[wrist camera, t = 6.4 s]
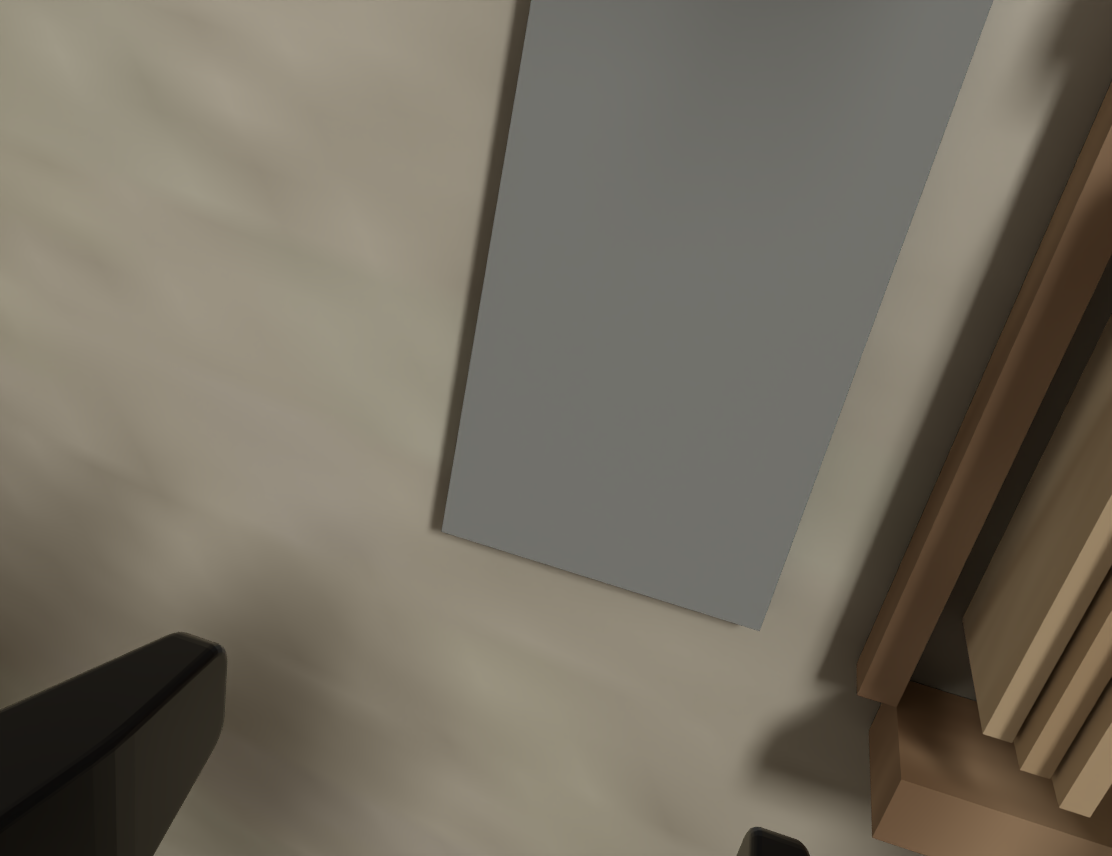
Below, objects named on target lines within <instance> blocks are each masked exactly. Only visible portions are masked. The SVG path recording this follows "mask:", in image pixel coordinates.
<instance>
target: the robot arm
mask: <svg viewBox="0 0 1112 856" xmlns="http://www.w3.org/2000/svg"><path fill="white" fill-rule="evenodd" d="M226 676H227V654H226V651H225V649H224V648H223V647H222V646H221V645H219V644H218V643H215V642H212V641H209V640H206V639H203V638H200V637H197V636H194V635H191V634H188V633H184V632H177V633H172V634H169V635H167V636H164V637H162V638H160V639H158V640H155V641H153V642H151V643H149V644H146V645H144V646H142V647H140V648H138V649H135V650H133V651H131V652H129V653H126V654H124V655H122V656H120V657H117V658H115V659H113V660H111V661H109V662H106V663H104V664H102V665H100V666H97V667H95V668H93V669H91V670H88V671H86V672H84V673H82V674H79V675H77V676H75V677H73V678H71V679H68V680H66V681H64V682H62V683H59V684H57V685H55V686H53V687H50V688H48V689H46V690H44V691H41V692H39V693H37V694H35V695H33V696H30V697H28V698H26V699H24V700H21V701H19V702H17V703H15V704H12V705H10V706H8V707H6V708H4V709H1V710H0V856H153V855H154V853H155V852H156V850H157V848H158V846H159V845H160V843H161V841H162V839H163V838H164V836H165V834H166V832H167V830H168V829H169V827H170V825H171V823H172V822H173V820H174V818H175V816H176V815H177V813H178V811H179V809H180V808H181V806H182V804H183V802H184V800H185V799H186V797H187V795H188V793H189V792H190V790H191V788H192V786H193V785H194V783H195V781H196V779H197V778H198V776H199V774H200V772H201V770H202V769H203V767H204V765H205V763H206V762H207V760H208V758H209V756H210V755H211V753H212V751H213V749H214V747H215V745H216V743H217V741H218V739H219V736H220V733H221V730H222V727H223V722H224V714H225V695H226ZM737 856H810V855H809V852H808V850H807V848H806V847H805V846H804V845H803V844H802V843H801V842H800V841H799V840H797V839H794V838H791V837H788V836H785V835H782V834H779V833H776V832H773V831H770V830H767V829H764V828H761V827H754V828H751V829H750V830H749V831H748V832H747V833H746V835H745V837H744V839H743V842H742V844H741V846H740V849H739V851H738V853H737Z"/></svg>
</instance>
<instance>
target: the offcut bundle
mask: <svg viewBox="0 0 1112 856" xmlns="http://www.w3.org/2000/svg"><path fill="white" fill-rule="evenodd" d="M962 621H963V627H964V632H965V638H966V643H967V649H968V655H969V660H970V666H971V671H972V677H973V683H974V688H975V694H976V699H977V705H978V710H979V716H980V722H981V727H982V733H983V734H985V735H988V736H991V737H994V738H997V739H1001V740H1004V741H1007V742H1010V743H1012V742H1013V740H1014V745H1015V750H1016V754H1017V759H1018V764H1019V768H1020V770H1022V771H1025V772H1028V773H1031V774H1035V775H1038V776H1041V777H1044V778H1047V779H1050V778H1052V782H1053V786H1054V790H1055V794H1056V798H1057V802H1058V806H1059V808H1061V809H1065V810H1068V811H1071V812H1074V813H1077V814H1080V815H1083V816H1086V817H1091V815H1092V814H1093V812H1094V811H1095V809H1096V807H1097V806H1098V804H1099V803H1100V801H1101V800H1102V798H1103V797H1104V795H1105V793H1106V792H1107V790H1108V789H1109V787H1110V786H1111V784H1112V314H1111V316H1110V318H1109V320H1108V322H1107V324H1106V326H1105V328H1104V330H1103V332H1102V334H1101V336H1100V338H1099V341H1098V343H1097V345H1096V347H1095V349H1094V351H1093V353H1092V355H1091V357H1090V359H1089V361H1088V363H1087V365H1086V367H1085V369H1084V371H1083V373H1082V375H1081V377H1080V379H1079V381H1078V383H1077V386H1076V388H1075V390H1074V392H1073V394H1072V396H1071V398H1070V400H1069V402H1068V404H1067V406H1066V408H1065V410H1064V412H1063V414H1062V416H1061V418H1060V420H1059V422H1058V424H1057V426H1056V428H1055V431H1054V433H1053V435H1052V437H1051V439H1050V441H1049V443H1048V445H1047V447H1046V449H1045V451H1044V453H1043V455H1042V457H1041V459H1040V461H1039V463H1038V465H1037V467H1036V469H1035V471H1034V473H1033V475H1032V478H1031V480H1030V482H1029V484H1028V486H1027V488H1026V490H1025V492H1024V494H1023V496H1022V498H1021V500H1020V502H1019V504H1018V506H1017V508H1016V510H1015V512H1014V514H1013V516H1012V518H1011V520H1010V523H1009V525H1008V527H1007V529H1006V531H1005V533H1004V535H1003V537H1002V539H1001V541H1000V543H999V545H998V547H997V549H996V551H995V553H994V555H993V557H992V559H991V561H990V563H989V565H988V568H987V570H986V572H985V574H984V576H983V578H982V580H981V582H980V584H979V586H978V588H977V590H976V592H975V594H974V596H973V598H972V600H971V602H970V604H969V606H968V608H967V610H966V612H965V615H964V617H963V619H962Z"/></svg>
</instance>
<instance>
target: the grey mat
mask: <svg viewBox="0 0 1112 856" xmlns="http://www.w3.org/2000/svg"><path fill="white" fill-rule="evenodd" d="M992 2H993V0H531V5H530V11H529V17H528V22H527V28H526V34H525V40H524V46H523V52H522V58H521V64H520V70H519V76H518V82H517V88H516V94H515V99H514V105H513V111H512V117H511V123H510V129H509V135H508V141H507V147H506V153H505V159H504V165H503V171H502V176H501V182H500V188H499V194H498V200H497V206H496V212H495V218H494V224H493V230H492V236H491V242H490V247H489V253H488V259H487V265H486V271H485V277H484V283H483V289H482V295H481V301H480V307H479V313H478V319H477V324H476V330H475V336H474V342H473V348H472V354H471V360H470V366H469V372H468V378H467V384H466V390H465V396H464V401H463V407H462V413H461V419H460V425H459V431H458V437H457V443H456V449H455V455H454V461H453V467H452V473H451V478H450V484H449V490H448V496H447V502H446V508H445V514H444V520H443V526H442V532H444V533H447V534H450V535H454V536H457V537H460V538H463V539H466V540H470V541H473V542H476V543H479V544H482V545H486V546H489V547H492V548H495V549H498V550H502V551H505V552H508V553H511V554H514V555H518V556H521V557H524V558H527V559H530V560H534V561H537V562H540V563H543V564H546V565H550V566H553V567H556V568H559V569H562V570H566V571H569V572H572V573H575V574H578V575H582V576H585V577H588V578H591V579H594V580H598V581H601V582H604V583H607V584H610V585H614V586H617V587H620V588H623V589H626V590H629V591H633V592H636V593H639V594H642V595H645V596H649V597H652V598H655V599H658V600H661V601H665V602H668V603H671V604H674V605H677V606H681V607H684V608H687V609H690V610H693V611H697V612H700V613H703V614H706V615H709V616H713V617H716V618H719V619H722V620H725V621H729V622H732V623H735V624H738V625H741V626H745V627H748V628H751V629H754V630H757V631H760V629H761V626H762V623H763V620H764V618H765V615H766V612H767V610H768V607H769V604H770V602H771V599H772V596H773V593H774V591H775V588H776V585H777V583H778V580H779V577H780V575H781V572H782V569H783V566H784V564H785V561H786V558H787V556H788V553H789V550H790V548H791V545H792V542H793V539H794V537H795V534H796V531H797V529H798V526H799V523H800V521H801V518H802V515H803V512H804V510H805V507H806V504H807V502H808V499H809V496H810V494H811V491H812V488H813V486H814V483H815V480H816V477H817V475H818V472H819V469H820V467H821V464H822V461H823V459H824V456H825V453H826V450H827V448H828V445H829V442H830V440H831V437H832V434H833V432H834V429H835V426H836V423H837V421H838V418H839V415H840V413H841V410H842V407H843V405H844V402H845V399H846V396H847V394H848V391H849V388H850V386H851V383H852V380H853V378H854V375H855V372H856V369H857V367H858V364H859V361H860V359H861V356H862V353H863V351H864V348H865V345H866V342H867V340H868V337H869V334H870V332H871V329H872V326H873V324H874V321H875V318H876V315H877V313H878V310H879V307H880V305H881V302H882V299H883V297H884V294H885V291H886V288H887V286H888V283H889V280H890V278H891V275H892V272H893V270H894V267H895V264H896V261H897V259H898V256H899V253H900V251H901V248H902V245H903V243H904V240H905V237H906V234H907V232H908V229H909V226H910V224H911V221H912V218H913V216H914V213H915V210H916V208H917V205H918V202H919V199H920V197H921V194H922V191H923V189H924V186H925V183H926V181H927V178H928V175H929V172H930V170H931V167H932V164H933V162H934V159H935V156H936V154H937V151H938V148H939V145H940V143H941V140H942V137H943V135H944V132H945V129H946V127H947V124H948V121H949V118H950V116H951V113H952V110H953V108H954V105H955V102H956V100H957V97H958V94H959V91H960V89H961V86H962V83H963V81H964V78H965V75H966V73H967V70H968V67H969V64H970V62H971V59H972V56H973V54H974V51H975V48H976V46H977V43H978V40H979V37H980V35H981V32H982V29H983V27H984V24H985V21H986V19H987V16H988V13H989V10H990V8H991V5H992Z"/></svg>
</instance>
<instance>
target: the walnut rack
mask: <svg viewBox="0 0 1112 856" xmlns="http://www.w3.org/2000/svg"><path fill="white" fill-rule="evenodd" d="M1111 255H1112V82H1111V84H1110V86H1109V89H1108V91H1107V93H1106V96H1105V98H1104V100H1103V102H1102V105H1101V107H1100V109H1099V112H1098V114H1097V116H1096V118H1095V121H1094V123H1093V125H1092V128H1091V130H1090V132H1089V134H1088V137H1087V139H1086V141H1085V144H1084V146H1083V148H1082V150H1081V153H1080V155H1079V157H1078V159H1077V162H1076V164H1075V166H1074V169H1073V171H1072V173H1071V175H1070V178H1069V180H1068V182H1067V185H1066V187H1065V189H1064V191H1063V194H1062V196H1061V198H1060V201H1059V203H1058V205H1057V207H1056V210H1055V212H1054V214H1053V217H1052V219H1051V221H1050V223H1049V226H1048V228H1047V230H1046V233H1045V235H1044V237H1043V239H1042V242H1041V244H1040V246H1039V249H1038V251H1037V253H1036V255H1035V258H1034V260H1033V262H1032V265H1031V267H1030V269H1029V271H1028V274H1027V276H1026V278H1025V281H1024V283H1023V285H1022V287H1021V290H1020V292H1019V294H1018V297H1017V299H1016V301H1015V303H1014V306H1013V308H1012V310H1011V313H1010V315H1009V317H1008V319H1007V322H1006V324H1005V326H1004V329H1003V331H1002V333H1001V335H1000V338H999V340H998V342H997V345H996V347H995V349H994V351H993V354H992V356H991V358H990V361H989V363H988V365H987V367H986V370H985V372H984V374H983V377H982V379H981V381H980V383H979V386H978V388H977V390H976V393H975V395H974V397H973V399H972V402H971V404H970V406H969V409H968V411H967V413H966V415H965V418H964V420H963V422H962V425H961V427H960V429H959V431H958V434H957V436H956V438H955V441H954V443H953V445H952V447H951V450H950V452H949V454H948V457H947V459H946V461H945V463H944V466H943V468H942V470H941V473H940V475H939V477H938V479H937V482H936V484H935V486H934V489H933V491H932V493H931V495H930V498H929V500H928V502H927V504H926V507H925V509H924V511H923V514H922V516H921V518H920V520H919V523H918V525H917V527H916V530H915V532H914V534H913V536H912V539H911V541H910V543H909V546H908V548H907V550H906V552H905V555H904V557H903V559H902V562H901V564H900V566H899V568H898V571H897V573H896V575H895V578H894V580H893V582H892V584H891V587H890V589H889V591H888V594H887V596H886V598H885V600H884V603H883V605H882V607H881V610H880V612H879V614H878V616H877V619H876V621H875V623H874V626H873V628H872V630H871V632H870V635H869V637H868V639H867V642H866V644H865V646H864V648H863V651H862V653H861V655H860V658H859V660H858V662H857V695H858V696H862V697H865V698H868V699H871V700H874V701H877V702H881V706H880V708H879V710H878V712H877V714H876V716H875V719H874V721H873V723H872V725H871V727H870V729H869V751H870V782H871V813H872V838H875V839H878V840H881V841H884V842H887V843H890V844H893V845H896V846H899V847H902V848H905V849H908V850H911V851H914V852H917V853H920V854H923V855H926V856H1112V784H1111V786H1110V787H1109V789H1108V790H1107V792H1106V793H1105V795H1104V797H1103V798H1102V800H1101V801H1100V803H1099V804H1098V806H1097V807H1096V809H1095V811H1094V812H1093V814H1092V815H1091V817H1086V816H1083V815H1080V814H1077V813H1074V812H1071V811H1068V810H1065V809H1061V808H1059V806H1058V802H1057V798H1056V794H1055V790H1054V786H1053V782H1052V778H1050V779H1047V778H1044V777H1041V776H1038V775H1035V774H1031V773H1028V772H1025V771H1022V770H1020V768H1019V764H1018V759H1017V754H1016V750H1015V745H1014V740H1013V742H1012V743H1010V742H1007V741H1004V740H1001V739H997V738H994V737H991V736H988V735H985V734H983V733H982V727H981V722H980V716H979V710H978V705H977V702H976V701H973V700H970V699H966V698H963V697H960V696H957V695H954V694H950V693H947V692H944V691H941V690H938V689H934V688H931V687H928V686H925V685H922V684H918V683H915V682H912V681H909V680H910V678H911V676H912V674H913V672H914V670H915V667H916V665H917V663H918V661H919V659H920V657H921V655H922V653H923V651H924V648H925V646H926V644H927V642H928V640H929V638H930V636H931V634H932V632H933V630H934V627H935V625H936V623H937V621H938V619H939V617H940V615H941V613H942V611H943V608H944V606H945V604H946V602H947V600H948V598H949V596H950V594H951V592H952V590H953V587H954V585H955V583H956V581H957V579H958V577H959V575H960V573H961V571H962V568H963V566H964V564H965V562H966V560H967V558H968V556H969V554H970V552H971V550H972V547H973V545H974V543H975V541H976V539H977V537H978V535H979V533H980V531H981V528H982V526H983V524H984V522H985V520H986V518H987V516H988V514H989V512H990V509H991V507H992V505H993V503H994V501H995V499H996V497H997V495H998V493H999V491H1000V488H1001V486H1002V484H1003V482H1004V480H1005V478H1006V476H1007V474H1008V472H1009V469H1010V467H1011V465H1012V463H1013V461H1014V459H1015V457H1016V455H1017V453H1018V451H1019V448H1020V446H1021V444H1022V442H1023V440H1024V438H1025V436H1026V434H1027V432H1028V429H1029V427H1030V425H1031V423H1032V421H1033V419H1034V417H1035V415H1036V413H1037V411H1038V408H1039V406H1040V404H1041V402H1042V400H1043V398H1044V396H1045V394H1046V392H1047V389H1048V387H1049V385H1050V383H1051V381H1052V379H1053V377H1054V375H1055V373H1056V370H1057V368H1058V366H1059V364H1060V362H1061V360H1062V358H1063V356H1064V354H1065V352H1066V349H1067V347H1068V345H1069V343H1070V341H1071V339H1072V337H1073V335H1074V333H1075V330H1076V328H1077V326H1078V324H1079V322H1080V320H1081V318H1082V316H1083V314H1084V312H1085V309H1086V307H1087V305H1088V303H1089V301H1090V299H1091V297H1092V295H1093V293H1094V290H1095V288H1096V286H1097V284H1098V282H1099V280H1100V278H1101V276H1102V274H1103V272H1104V269H1105V267H1106V265H1107V263H1108V261H1109V259H1110V257H1111Z"/></svg>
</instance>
